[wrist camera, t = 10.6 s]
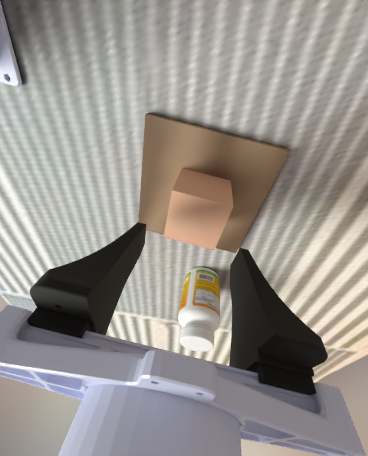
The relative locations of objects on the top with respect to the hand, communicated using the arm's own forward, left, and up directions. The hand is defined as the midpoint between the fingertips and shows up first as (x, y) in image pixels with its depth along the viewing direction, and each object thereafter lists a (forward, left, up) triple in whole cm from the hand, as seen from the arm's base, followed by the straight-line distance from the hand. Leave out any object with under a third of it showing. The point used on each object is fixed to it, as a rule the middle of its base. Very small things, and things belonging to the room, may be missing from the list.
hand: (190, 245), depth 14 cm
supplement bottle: (+4, -14, -9) cm, 17 cm away
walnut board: (0, 0, -9) cm, 9 cm away
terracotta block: (0, 0, -8) cm, 8 cm away
